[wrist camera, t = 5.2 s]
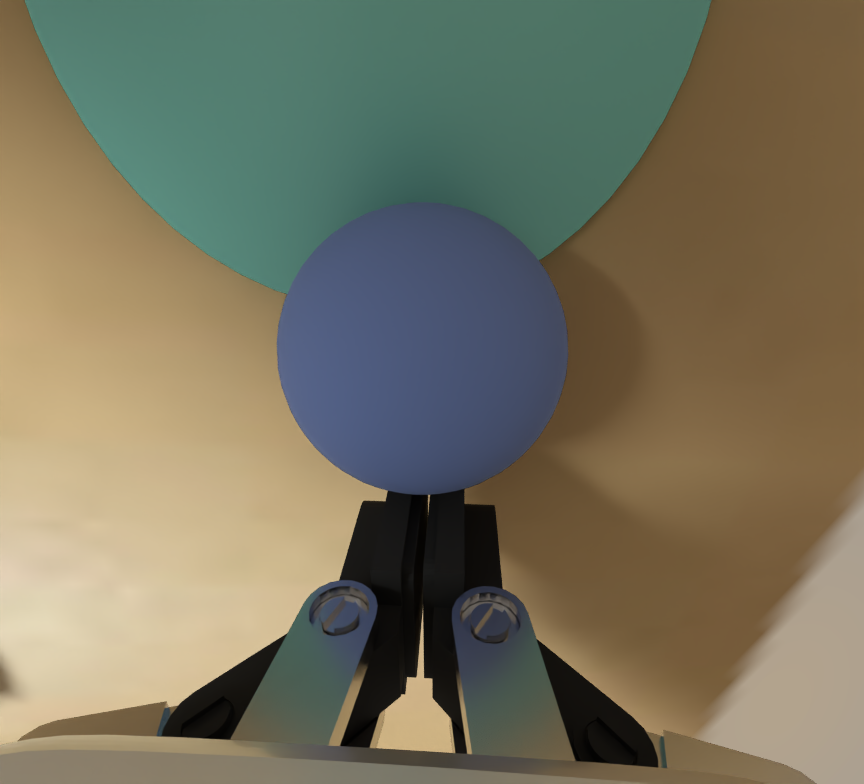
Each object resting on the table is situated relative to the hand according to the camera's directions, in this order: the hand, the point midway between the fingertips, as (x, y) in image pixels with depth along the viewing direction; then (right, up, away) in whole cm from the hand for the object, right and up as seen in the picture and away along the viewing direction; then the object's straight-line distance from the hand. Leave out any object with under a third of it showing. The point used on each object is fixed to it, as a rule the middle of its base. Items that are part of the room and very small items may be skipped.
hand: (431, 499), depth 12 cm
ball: (0, +3, -3) cm, 4 cm away
